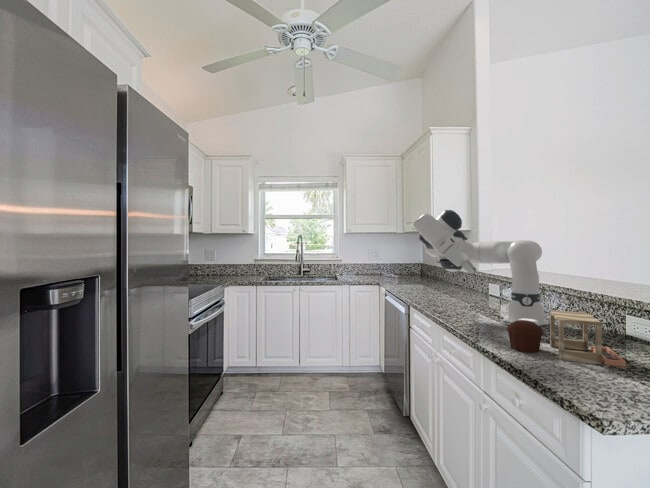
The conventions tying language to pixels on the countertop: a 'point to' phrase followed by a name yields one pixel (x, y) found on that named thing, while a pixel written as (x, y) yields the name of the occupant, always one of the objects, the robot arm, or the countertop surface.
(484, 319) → the countertop surface
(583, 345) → the tunnel
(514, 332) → the muffin
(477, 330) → the countertop surface
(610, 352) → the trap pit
